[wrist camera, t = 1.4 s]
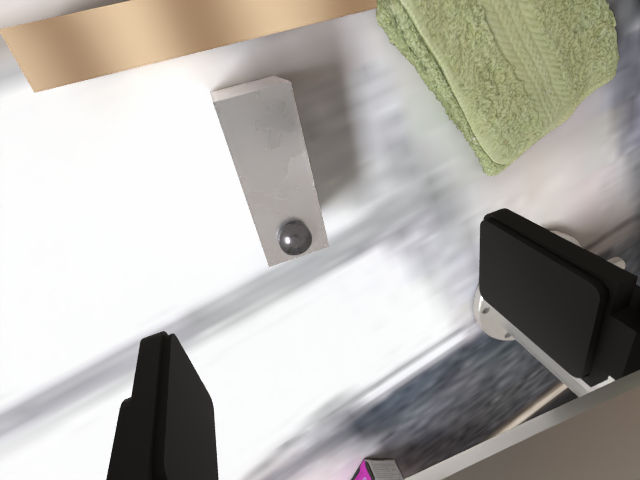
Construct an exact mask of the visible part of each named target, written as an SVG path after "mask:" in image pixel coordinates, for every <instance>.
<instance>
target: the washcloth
mask: <svg viewBox="0 0 640 480" xmlns="http://www.w3.org/2000/svg"><path fill="white" fill-rule="evenodd" d="M606 2H607V0H377V10H376V19H377V22H378V25H379V26H380V27H382V28H383V29H384V31H385V33H387V35H388V37H389V40H390V43H392V44H393V45H394V46H396V47H397V49H398V50H399V51H401V54H402V55H404V56H405V58H406V59H407V60H408V61H409V62H410V63H411V64H413V65H414V66H415V68H416V70H417V72H418V73H419V74H420V77H421V78H422V79H423V80H424V82H425V84H427V86H428V87H429V90H431V91H433V92H434V93H435V95H436V99H438V100H439V101H441V102H442V106H443V107H444V108H445V109H446V111H445V113H446V114H448V115H449V120H454V121H453V124H457V129H460V131H461V132H463V134H464V137H465V138H466V141H469V145H470V146H471V148H472V149H473V150H474V151H475V155H476V156H477V157H478V158H479V163H480V164H481V166H482V168H483V172H484V173H486V174H487V175H489V176H495V175H498V174H499V173H501V172H502V171H503V170H505V169H506V168H507V167H508V166H509V165H510V164H511V163H512V162H513V161H515V160H516V159H517V158H519V157H520V156H521V155H522V154H523V153H524V152H525V151H526V150H527V149H528V148H530V147H531V146H532V145H534V144H535V143H536V142H537V141H538V140H540V139H541V138H542V137H543V136H545V135H546V134H547V133H549V132H550V131H552V130H553V129H555V128H557V127H558V126H559V125H561V124H562V123H564V122H565V121H566V120H567V119H569V117H570V116H571V115H572V114H573V112H574V111H575V109H576V108H577V106H578V105H579V104H580V103H581V102H582V101H583V100H584V99H585V98H586V97H587V96H589V95H590V94H591V93H592V92H593V91H595V90H596V89H598V88H599V87H601V86H603V85H604V84H606V83H608V82H609V81H611V80H612V79H613V78H614V76H615V75H616V68H617V63H618V60H619V58H620V56H619V54H618V51H617V49H618V46H617V32H616V30H615V28H614V27H615V26H616V20H615V17H614V15H613V11H611V10H609V4H608V3H606Z"/></svg>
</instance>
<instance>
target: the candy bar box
mask: <svg viewBox="0 0 640 480" xmlns="http://www.w3.org/2000/svg"><path fill="white" fill-rule="evenodd" d="M351 480H404V477H403V475H402V473H401V471H400V469H399V467H398V465H397V463H396V461H395V460H394V459H364V460H363V461H362V463H361V465H360V466H359V468H358V470H357V471H356V473H355V474H354V476H353V478H352V479H351Z"/></svg>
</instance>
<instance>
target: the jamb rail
mask: <svg viewBox="0 0 640 480" xmlns="http://www.w3.org/2000/svg"><path fill="white" fill-rule="evenodd" d="M375 8H377V0H130V1H126V2H121V3H117V4H112V5H108V6H103V7H99V8H94V9H90V10H85V11H81V12H76V13H72V14H67V15H62V16H58V17H53V18H49V19H44V20H40V21H35V22H31V23H26V24H22V25H17V26H13V27H8V28H4V29H0V33H1V35H2V36H3V38H4V40H5V42H6V43H7V45H8V47H9V49H10V50H11V52H12V54H13V56H14V57H15V59H16V61H17V63H18V64H19V66H20V68H21V70H22V72H23V73H24V75H25V77H26V79H27V80H28V82H29V84H30V86H31V87H32V89H33V91H34V93H35V92H39V91H43V90H48V89H52V88H56V87H60V86H64V85H68V84H72V83H76V82H80V81H84V80H88V79H92V78H96V77H100V76H104V75H108V74H112V73H116V72H120V71H124V70H128V69H132V68H136V67H140V66H144V65H148V64H152V63H157V62H161V61H165V60H169V59H173V58H177V57H181V56H185V55H189V54H193V53H197V52H201V51H205V50H209V49H213V48H217V47H221V46H225V45H229V44H233V43H237V42H241V41H245V40H249V39H253V38H257V37H261V36H266V35H270V34H274V33H278V32H282V31H286V30H290V29H294V28H298V27H302V26H306V25H310V24H314V23H318V22H322V21H326V20H330V19H334V18H338V17H342V16H346V15H350V14H354V13H358V12H362V11H366V10H371V9H375Z"/></svg>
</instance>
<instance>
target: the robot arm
mask: <svg viewBox="0 0 640 480" xmlns="http://www.w3.org/2000/svg"><path fill="white" fill-rule="evenodd" d="M624 268H625V262H624V261H623V260H622V259H621V258H619V257H614V258H611V259H609V260H605V259H603V258H601V257H599V256H597V255H595V254H593V253H591V252H589V251H587V250H585V249H583V247H582V245H581V243H579V242H578V241H577V240H576V239H575V238H573V237H571V236H569V235H567V234H566V233H563V232H559V231H549V230H547V229H545V228H543V227H541V226H539V225H537V224H535V223H533V222H532V221H530V220H528V219H526V218H524V217H522V216H520V215H518V214H516V213H514V212H512V211H510V210H508V209H505V208H504V209H500V210H497V211H495V212H492V213H489V214H487V215H485V217H484V220H483V221H482V222H481V224H480V266H479V285H478V287H477V290H476V294H475V297H474V304H473V312H474V317H475V320H476V322H477V324H478V325H479V326H480V327H481V328H482V330H483V331H484V332H485V333H487V334H488V335H489V336H490V337H493V338H495V339H498V340H517V341H518V342H519V343H520V344H521V345H522V346H523V347H524V348H526V349H527V350H528V351H529V352H530V353H531V354H532V355H533V356H534V357H535V358H537V359H538V360H539V361H540V362H541V363H542V364H543V365H544V366H545V367H546V368H547V369H549V370H550V371H551V372H552V373H553V374H554V375H555V376H556V377H557V378H558V379H559V380H561V381H562V382H563V383H564V384H565V385H566V386H567V387H568V388H569V389H570V390H572V391H573V392H574V393H575V394H576V395H577V396H578V397H579V398H577V399H574V400H572V401H570V402H568V403H566V404H564V405H562V406H559V407H557V408H555V409H553V410H551V411H549V412H546V413H544V414H542V415H540V416H538V417H536V418H533V419H531V420H529V421H527V422H525V423H523V424H521V425H519V426H516V427H514V428H512V429H510V430H508V431H506V432H504V433H502V434H499V435H497V436H495V437H493V438H491V439H489V440H487V441H484V442H482V443H480V444H478V445H476V446H474V447H472V448H470V449H467V450H465V451H463V452H461V453H459V454H457V455H455V456H453V457H451V458H448V459H446V460H444V461H442V462H440V463H438V464H436V465H434V466H431V467H429V468H427V469H425V470H423V471H421V472H419V473H417V474H415V475H412V476H410V477H408V478H406V479H404V480H640V286H638V285H636V281H637V278H638V277H637V276H635V275H633V274H631V273H630V272H628V271H626V270H624ZM106 480H218V466H217V451H216V436H215V421H214V408H213V403H212V400H211V397H210V395H209V393H208V391H207V390H206V388H205V386H204V384H203V382H202V381H201V379H200V377H199V375H198V374H197V372H196V370H195V368H194V367H193V365H192V363H191V361H190V360H189V358H188V356H187V354H186V353H185V351H184V349H183V347H182V345H181V344H180V342H179V340H178V338H177V337H176V335H175V334H170V335H168V334H167V333H166V332H165V331H162V332H160V333H157V334H154V335H151V336H148V337H146V338H143V339H142V340H141V342H140V347H139V354H138V360H137V366H136V372H135V378H134V384H133V390H132V396H131V397H130V398H128V399H125V400H124V401H123V402H122V404H121V407H120V411H119V416H118V421H117V427H116V432H115V437H114V442H113V448H112V453H111V458H110V463H109V469H108V474H107V479H106Z"/></svg>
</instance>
